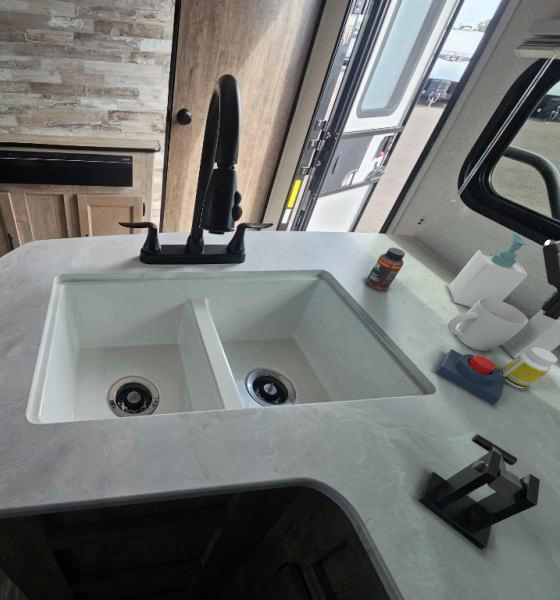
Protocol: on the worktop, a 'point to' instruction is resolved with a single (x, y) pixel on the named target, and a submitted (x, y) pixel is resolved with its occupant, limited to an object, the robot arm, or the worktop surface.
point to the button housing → (471, 376)
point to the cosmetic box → (535, 335)
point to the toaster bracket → (468, 513)
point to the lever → (501, 469)
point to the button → (482, 364)
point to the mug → (488, 324)
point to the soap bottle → (489, 275)
